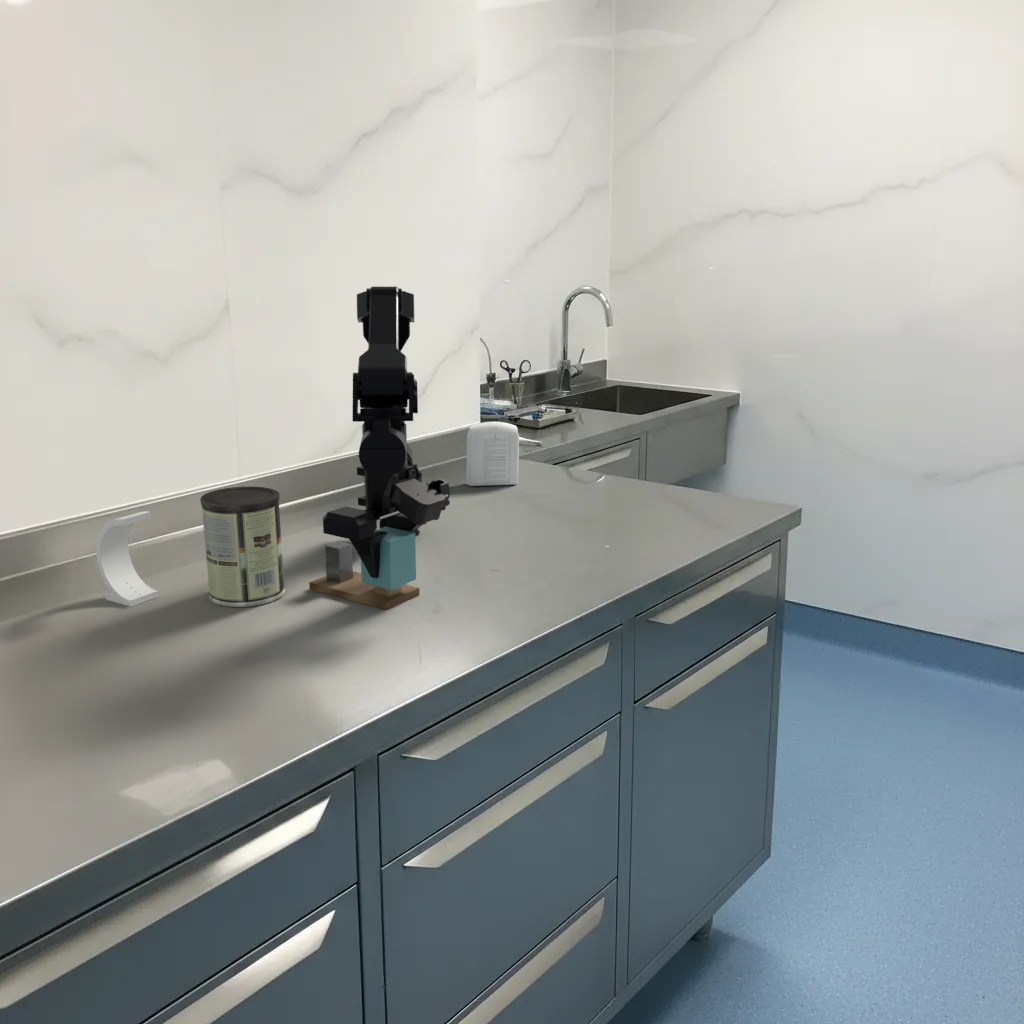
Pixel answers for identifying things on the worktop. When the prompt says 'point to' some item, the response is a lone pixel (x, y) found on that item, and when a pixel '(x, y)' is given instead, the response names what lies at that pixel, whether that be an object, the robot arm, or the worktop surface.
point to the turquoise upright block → (394, 560)
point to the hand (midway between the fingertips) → (388, 572)
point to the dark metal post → (339, 562)
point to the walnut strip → (363, 592)
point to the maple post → (387, 590)
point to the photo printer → (492, 454)
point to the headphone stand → (121, 562)
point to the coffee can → (243, 546)
